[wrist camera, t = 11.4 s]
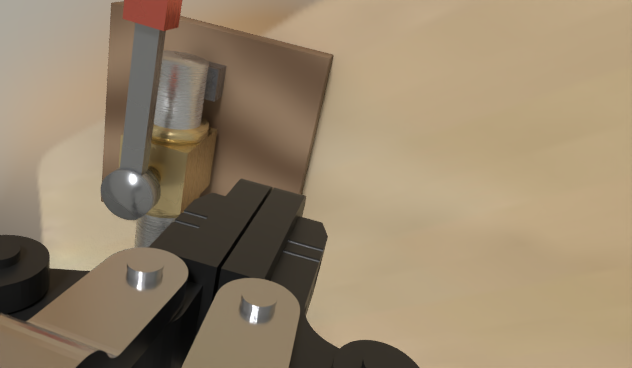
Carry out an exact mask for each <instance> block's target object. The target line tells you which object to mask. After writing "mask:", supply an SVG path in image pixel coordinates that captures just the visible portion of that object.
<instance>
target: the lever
mask: <svg viewBox="0 0 632 368" xmlns="http://www.w3.org/2000/svg"><path fill="white" fill-rule="evenodd" d="M181 5H182V0H124V8H123V18H122V19H125V20H128V21H132V22H135V30H134V40H133V49H132V58H131V68H130V77H129V87H128V96H127V105H126V115H125V124H124V134H123V143H122V152H121V162H120V167H119V168H118V169H116V170H115V171H113V172H112V173H110V174H109V175H107V176H106V177H105V178H104V180H103V182H102V185H101V196H102V199H103V201H104V203H105V205H106V206H107V208H108V209H109V210H110V211H111V212H112V213H113V214H115V215H116V216H118V217H120V218H123V219H127V220H136V219H139V218H141V217H143V216H144V215H145V214H146V213H147V212H149V211H150V210H151V209H152V208H153V207H154V206H155V205H156V204H157V203H158V201H159V199H160V195H161V188H160V184H159V182H158V179H157V178H156V176H155V175H154V174H153V173H152V172H151V171H150V170H149V169H148V164H149V156H150V148H151V141H152V133H153V125H154V118H155V110H156V103H157V95H158V87H159V80H160V72H161V64H162V57H163V49H164V41H165V34H166V30H170V29H174V28H178V27H179V20H180V13H181Z"/></svg>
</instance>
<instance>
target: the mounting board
mask: <svg viewBox="0 0 632 368" xmlns="http://www.w3.org/2000/svg"><path fill="white" fill-rule="evenodd" d="M123 8H124V1H123V2H114V3H111V18H110V19H111V20H110V39H109V59H108V77H107V97H106V116H105V135H104V155H103V174H102V182H103V180H104V178H105V177H106V176H107V175H109V174H110V173H112V172H113V171H115V170H116V169H118V168H119V155H120V140H121V135H122V134H123V133H124V124H125V115H126V105H127V96H128V87H129V77H130V68H131V58H132V49H133V40H134V30H135V22H132V21H128V20H125V19H122V18H123ZM163 50H168V51H178V52H184V53H189V54H192V55H196V56H199V57H201V58H204V59H205V60H207V61H210V62H214V63H217V64H221V65H225V66H226V73H225V80H224V87H223V93H222V97H221V98H219V99H218V100H216V101H215V102H213V101H210V100H206V99H204V103H203V111H202V117H204V118H205V119H206V120H207V121H208V122H209V127H211V128H214V129H217V136H216V143H215V150H214V157H213V164H212V170H211V177H210V184H209V186H208V187H207V188H206V189H205V190H204V191H203V192H202V193H201V194H200V195H199V197H202V196H205V195H207V194H210V193H212V192H213V193H216V194H220V195H223V196H226V195H227V194H228V193H229V191H230V190H231V189H232V188H233V187H234V185H235V184H236V183H237V182H238V181H239V180H240V179H241V178H242V179H245V180H249V181H253V182H256V183H260V184H264V185H267V186H271V187H273V188H274V187H275V188H279V189H282V190H286V191H290V192H293V193H297V194H301V195H302V190H303V186H304V182H305V177H306V173H307V169H308V164H309V160H310V155H311V151H312V147H313V142H314V138H315V134H316V129H317V125H318V120H319V116H320V112H321V107H322V103H323V99H324V94H325V90H326V85H327V81H328V77H329V72H330V68H331V64H332V59H333V55H332V54H328V53H324V52H320V51H316V50H312V49H308V48H304V47H300V46H296V45H292V44H289V43H285V42H281V41H277V40H273V39H269V38H265V37H261V36H257V35H253V34H249V33H245V32H241V31H238V30H233V29H230V28H226V27H222V26H218V25H214V24H210V23H206V22H202V21H198V20H195V19H191V18H186V17H183V16H180V20H179V27H178V28H174V29H170V30H166V34H165V41H164V49H163ZM101 201H102V202H104V201H103V199H102V196H101Z"/></svg>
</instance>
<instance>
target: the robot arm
mask: <svg viewBox="0 0 632 368" xmlns="http://www.w3.org/2000/svg"><path fill="white" fill-rule="evenodd" d="M305 200H306V196H304V195H301V194H297V193H293V192H290V191H286V190H282V189H279V188H275V187H274V188H273V187H271V186H267V185H264V184H260V183H256V182H253V181H249V180H245V179H242V178H241V179H240V180H239V181H238V182H237V183H236V184H235V185H234V187H233V188H232V189H231V190H230V191H229V193H228V194H227V195H226V196H223V195H220V194H216V193H213V192H212V193H210V194H207V195H205V196H202V197H199V198H197V199H194V200H193V201H192V202H191V203H190V205H189V206H188V207H187V208H186V209H185V210H184V212H183V213H181V214H180V215H179V216H178V217H177V218H176V219H175V222H172V223H171V224H170V225H169V226H168V227H167V228H166V229H165V230H164V231H163V232H162V233H161V234H160V236H159V237H158V238H157V239H156V240H155V241H154V242H153V243H152V244H151V245H150V246H149V247H148V248H147V247H142V248H131V249H126V250H122V251H119V252H117V253H115V254H112V255H111V256H109V257H108V258H107V259H105V260H104V261H103V262H102V263H100V264H99V265H98V266H97V267H95V268H94V269H93V270H91V271H78V270H64V269H50V268H49V252H48V250H47V248H46V247H45V246H44V245H43V244H41V243H40V242H38V241H36V240H33V239H30V238H27V237H22V236H15V235H0V368H419V367H418V365H417V364H416V363H415V362H414V361H413V360H412V359H411V358H410V357H409V356H407V355H406V354H405V353H403V352H402V351H400V350H399V349H397V348H395V347H393V346H390V345H388V344H385V343H382V342H378V341H372V340H358V341H353V342H350V343H348V344H346V345H344V346H343V347H341V348H340V349H339V348H337V347H336V346H334V345H332V344H330V343H329V342H327V341H326V340H324V339H323V338H322V337H320V336H319V335H318V334H317V333H316V332H315V331H314V330H313V329H312V327H311V326H310V325H309V323H308V321H307V319H306V314H307V311H308V308H309V305H310V301H311V298H312V295H313V292H314V288H315V284H316V280H317V276H318V272H319V269H320V265H321V261H322V257H323V253H324V249H325V245H326V241H327V237H328V236H327V233H326V231H325V228H324V226H323V223H321V222H318V221H314V220H310V219H307V218H303V217H302V215H303V210H304V206H305Z"/></svg>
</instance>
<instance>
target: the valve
mask: <svg viewBox="0 0 632 368" xmlns="http://www.w3.org/2000/svg"><path fill="white" fill-rule="evenodd" d="M225 73H226V66H225V65H221V64H217V63H214V62H210V61H207V60H205V59H204V58H201V57H199V56H196V55H192V54H189V53H184V52H178V51H168V50H163V57H162V64H161V72H160V80H159V87H158V95H157V103H156V110H155V118H154V125H153V133H152V141H151V148H150V156H149V164H148V169H149V170H150V171H151V172H152V173H153V174H154V175H155V176H156V178H157V179H158V182H159V184H160V188H161V195H160V199H159V201H158V203H157V204H156V205H155V206H154V207H153V208H152V209H151V210H150V211H149V212H147V213H146V214H145V215H144V216H143V217H141V218H139V219H137V223H136V235H135V247H134V248H142V247H147V248H148V247H149V246H150V245H151V244H152V243H153V242H154V241H155V240H156V239H157V238H158V237H159V236H160V234H161V233H162V232H163V231H164V230H165V229H166V228H167V227H168V226H169V225H170V224H171V223H172V222H175V219H176V218H177V217H178V216H179V215H180V214H181V213H183V212H184V210H185V209H186V208H187V207H188V206H189V205H190V203H191V202H192V201H193V200H194V199H197V198H199V195H200V194H201V193H202V192H203V191H204V190H205V189H206V188H207V187H208V186H209V184H210V177H211V170H212V164H213V157H214V150H215V143H216V136H217V129H214V128H211V127H209V122H208V121H207V120H206V119H205V118H204V117H202V111H203V103H204V99H206V100H210V101H213V102H215V101H216V100H218V99H219V98H221V97H222V93H223V87H224V80H225ZM123 134H124V133H123ZM123 134H122V135H121V140H120V155H119V167H120V162H121V152H122V143H123Z"/></svg>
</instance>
